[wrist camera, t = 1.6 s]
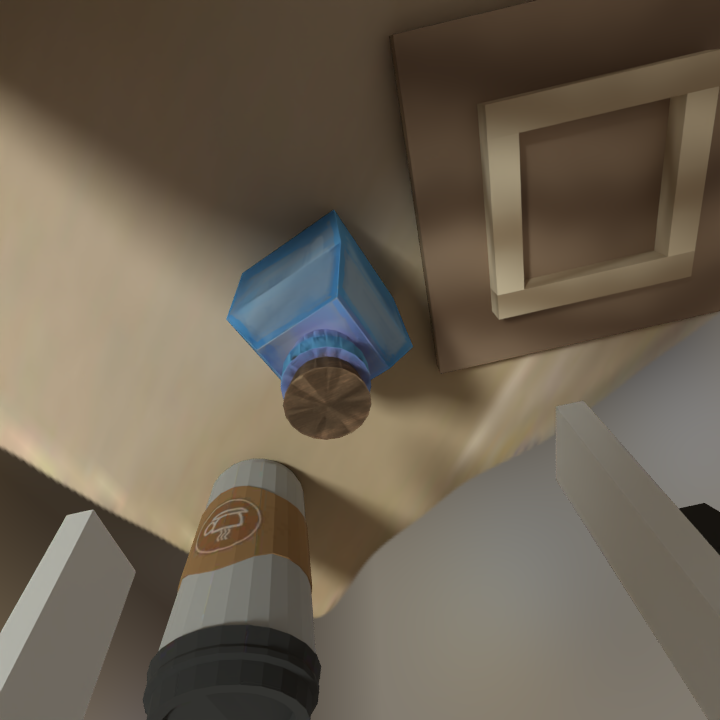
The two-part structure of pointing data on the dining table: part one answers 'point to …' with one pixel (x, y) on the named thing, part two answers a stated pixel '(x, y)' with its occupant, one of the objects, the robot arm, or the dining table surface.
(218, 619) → the coffee cup
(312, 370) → the perfume bottle
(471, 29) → the socket board
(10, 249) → the dining table surface
